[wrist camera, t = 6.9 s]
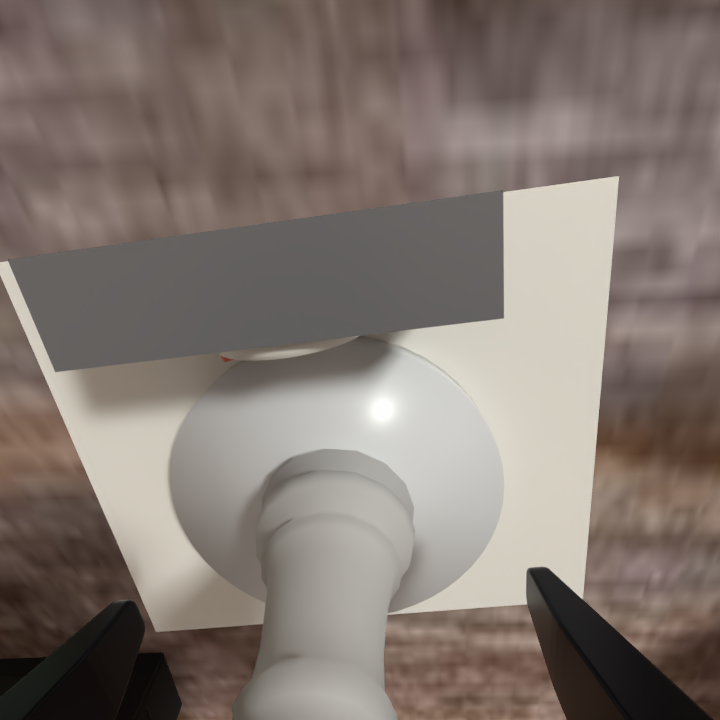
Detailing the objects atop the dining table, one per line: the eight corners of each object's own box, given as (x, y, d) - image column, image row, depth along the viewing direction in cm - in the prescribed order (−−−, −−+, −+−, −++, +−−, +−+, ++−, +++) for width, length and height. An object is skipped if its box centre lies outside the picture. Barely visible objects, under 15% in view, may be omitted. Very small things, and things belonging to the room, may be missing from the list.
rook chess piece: (320, 410, 11) (211, 829, 3) (444, 493, 12) (578, 985, 4) (236, 514, 12) (18, 992, 5) (353, 583, 13) (331, 1088, 5)
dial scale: (561, 184, 12) (783, 150, 6) (547, 536, 17) (659, 738, 10) (73, 252, 13) (-214, 290, 7) (189, 566, 18) (87, 768, 11)
